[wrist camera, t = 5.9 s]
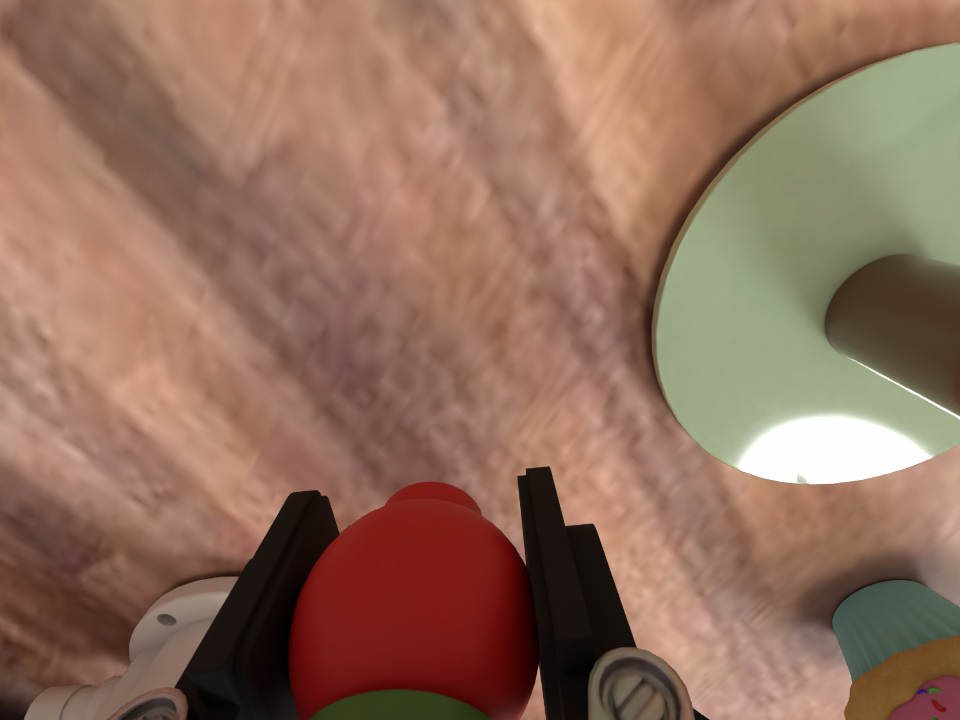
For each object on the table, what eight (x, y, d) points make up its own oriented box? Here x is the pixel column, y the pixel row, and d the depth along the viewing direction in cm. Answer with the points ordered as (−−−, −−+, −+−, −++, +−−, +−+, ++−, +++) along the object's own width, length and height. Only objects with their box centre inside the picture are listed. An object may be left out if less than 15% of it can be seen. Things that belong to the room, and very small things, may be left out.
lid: (638, 481, 19) (718, 648, 12) (655, 86, 13) (825, 13, 6) (999, 451, 18) (1285, 613, 12) (1195, 14, 12) (2009, -151, 6)
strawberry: (361, 596, 11) (257, 982, 6) (316, 453, 10) (114, 812, 4) (531, 580, 11) (584, 963, 6) (517, 432, 10) (574, 776, 4)
